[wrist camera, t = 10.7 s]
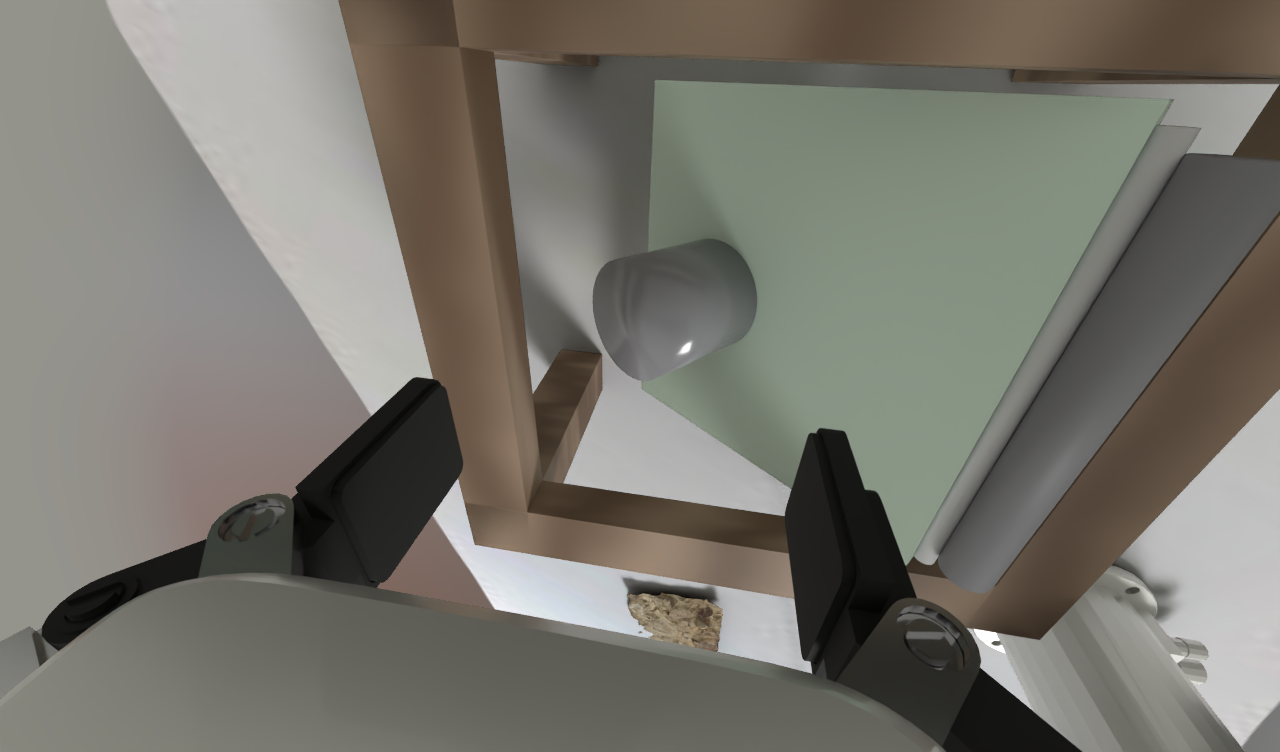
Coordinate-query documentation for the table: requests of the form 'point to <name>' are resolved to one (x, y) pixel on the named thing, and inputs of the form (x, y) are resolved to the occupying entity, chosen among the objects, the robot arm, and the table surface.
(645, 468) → the table surface
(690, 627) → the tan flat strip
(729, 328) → the grey rounded cylinder
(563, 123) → the table surface
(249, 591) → the robot arm
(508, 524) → the trapdoor frame
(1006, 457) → the trapdoor
